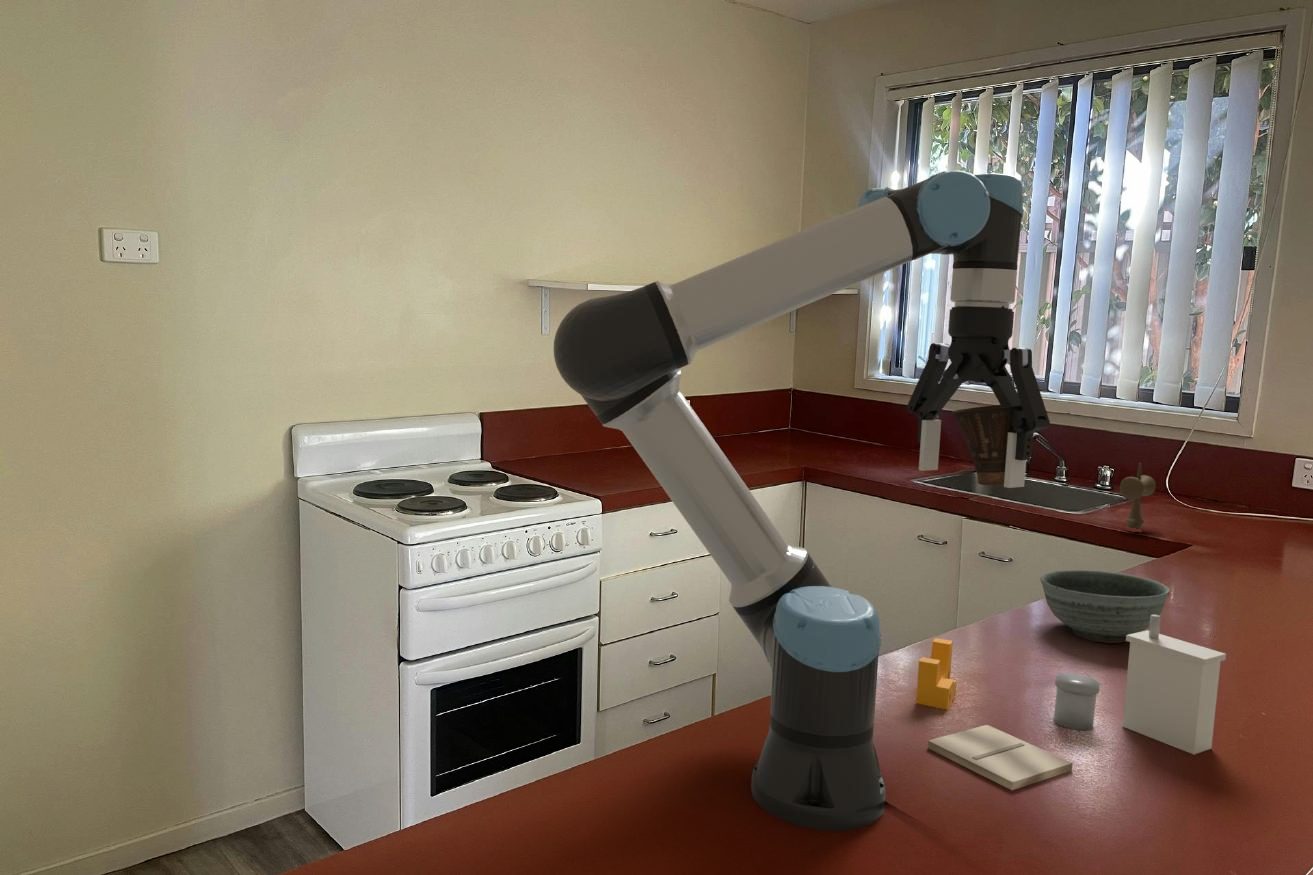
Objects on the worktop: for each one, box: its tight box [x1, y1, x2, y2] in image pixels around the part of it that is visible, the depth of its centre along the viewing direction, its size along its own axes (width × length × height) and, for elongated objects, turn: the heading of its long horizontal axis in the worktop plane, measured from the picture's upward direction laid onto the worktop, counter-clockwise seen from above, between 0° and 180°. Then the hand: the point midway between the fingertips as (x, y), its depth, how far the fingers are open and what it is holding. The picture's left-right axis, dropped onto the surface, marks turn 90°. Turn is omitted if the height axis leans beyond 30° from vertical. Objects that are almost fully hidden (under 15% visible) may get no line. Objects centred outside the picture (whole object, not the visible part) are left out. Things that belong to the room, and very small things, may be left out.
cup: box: [951, 404, 1023, 486], centre depth 123 cm, size 9×9×10 cm
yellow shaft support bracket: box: [915, 637, 957, 711], centre depth 148 cm, size 12×4×6 cm, turn 154°
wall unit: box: [1122, 615, 1227, 756], centre depth 134 cm, size 5×11×16 cm, turn 32°
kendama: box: [1119, 462, 1157, 529], centre depth 262 cm, size 6×10×20 cm, turn 134°
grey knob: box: [1053, 672, 1101, 731], centre depth 138 cm, size 6×6×6 cm
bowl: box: [1039, 569, 1171, 643], centre depth 178 cm, size 21×21×10 cm
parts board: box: [927, 724, 1073, 791], centre depth 126 cm, size 11×13×1 cm
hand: (969, 478), depth 126 cm, fingers open, 13 cm apart
